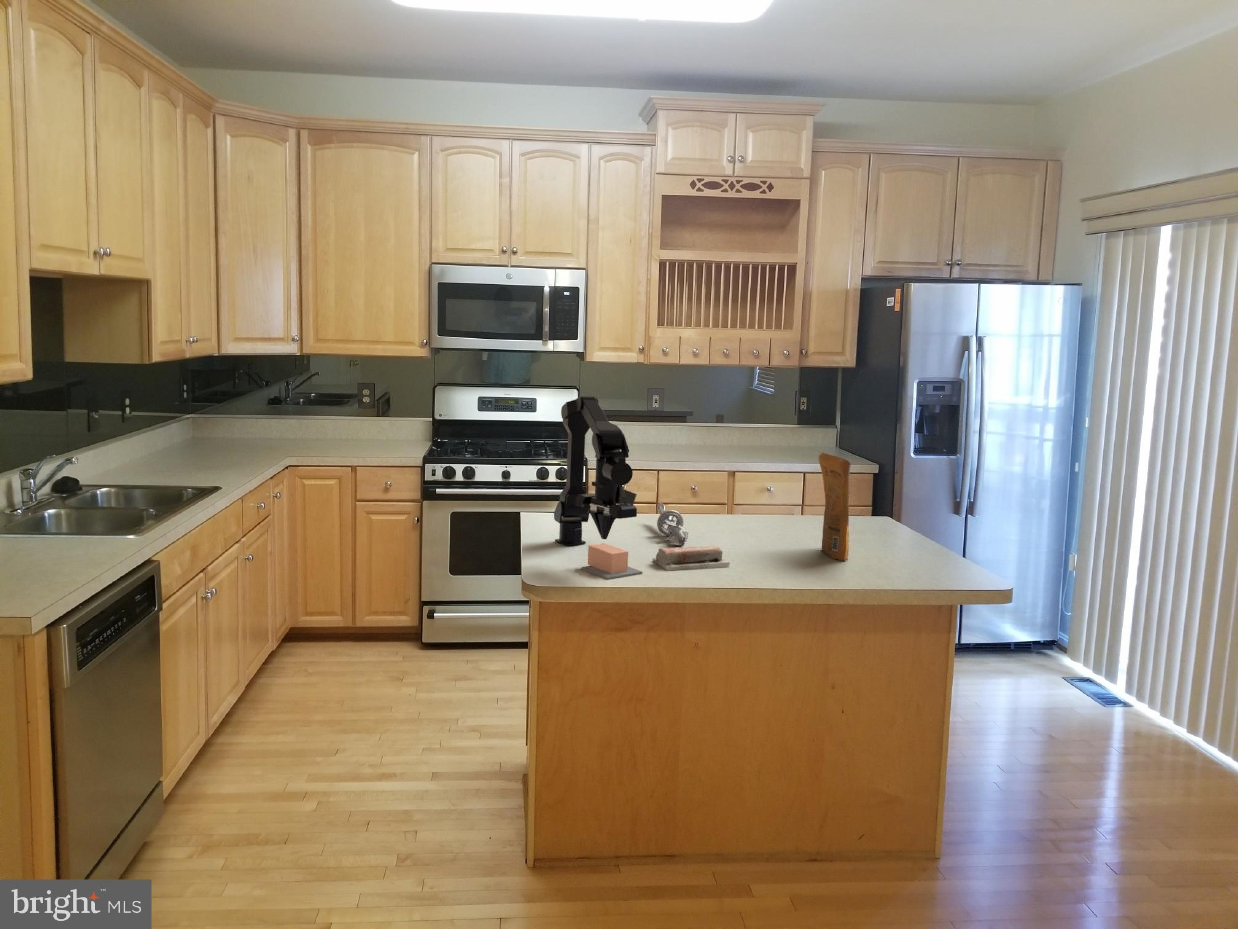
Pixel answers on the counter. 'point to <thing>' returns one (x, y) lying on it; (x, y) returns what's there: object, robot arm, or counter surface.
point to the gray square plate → (608, 575)
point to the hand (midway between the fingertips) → (604, 539)
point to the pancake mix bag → (835, 506)
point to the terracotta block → (607, 558)
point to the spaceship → (671, 525)
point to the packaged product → (690, 558)
